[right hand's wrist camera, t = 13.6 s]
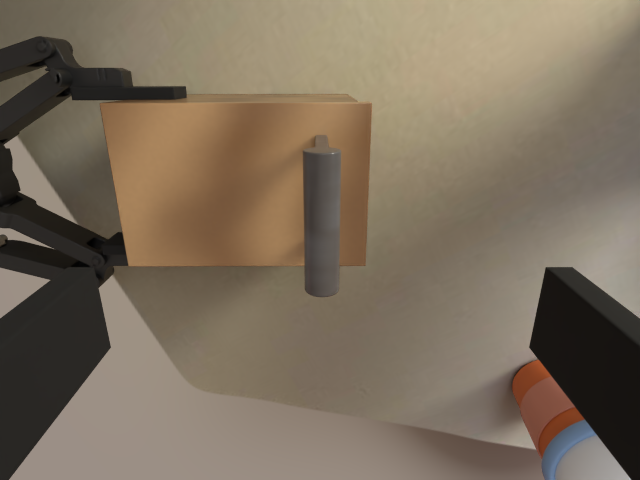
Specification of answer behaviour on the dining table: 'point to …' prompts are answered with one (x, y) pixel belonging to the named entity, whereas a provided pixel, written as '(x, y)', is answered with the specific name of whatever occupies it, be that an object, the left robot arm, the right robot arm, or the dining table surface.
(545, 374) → the cup with straw
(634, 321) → the right robot arm
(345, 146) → the lid
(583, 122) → the dining table surface
